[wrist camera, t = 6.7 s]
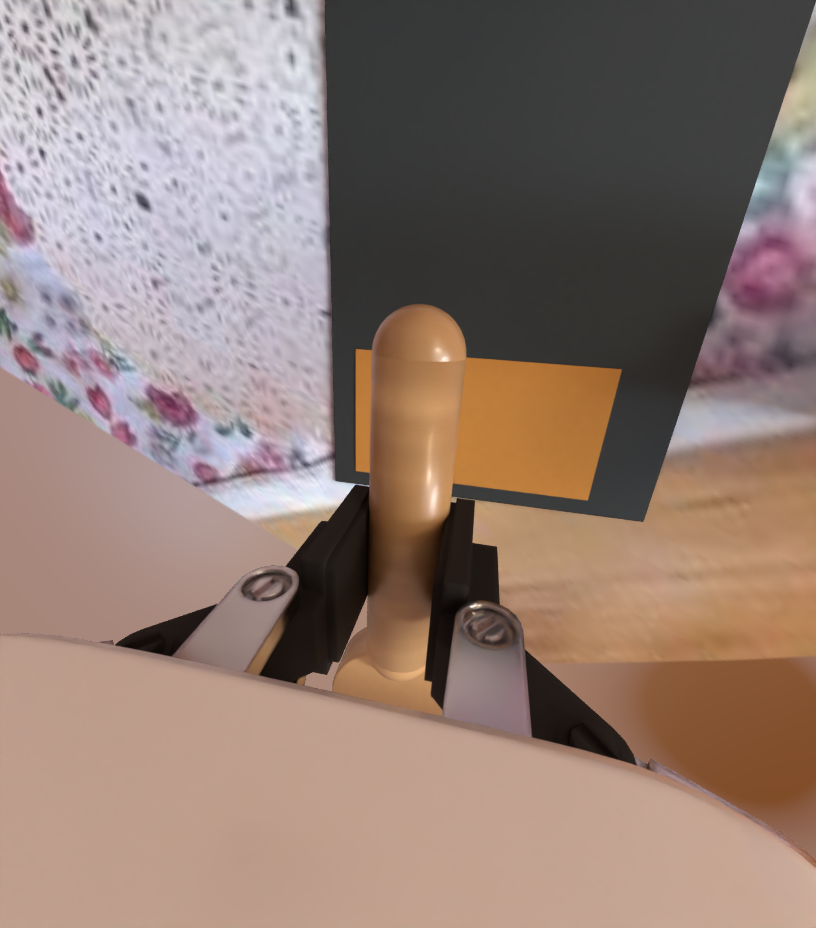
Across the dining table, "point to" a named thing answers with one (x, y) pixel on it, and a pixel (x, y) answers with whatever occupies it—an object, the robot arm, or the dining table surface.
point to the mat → (546, 218)
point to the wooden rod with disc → (406, 502)
